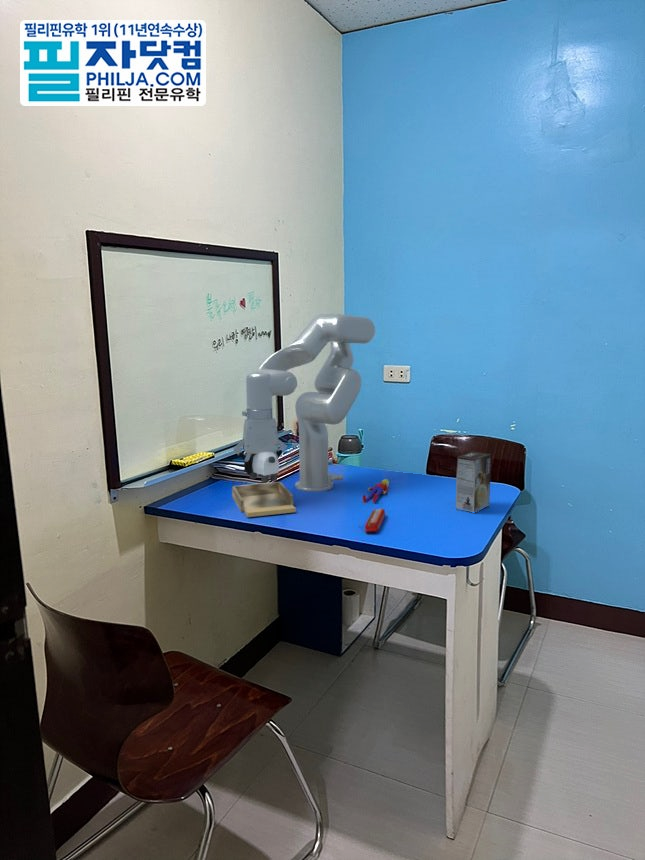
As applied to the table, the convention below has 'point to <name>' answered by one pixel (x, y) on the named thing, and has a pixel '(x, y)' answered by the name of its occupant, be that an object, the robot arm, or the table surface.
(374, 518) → the candy bar
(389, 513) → the table surface
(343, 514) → the table surface
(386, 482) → the character figure
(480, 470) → the coffee box
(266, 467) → the giant panda
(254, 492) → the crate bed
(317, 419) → the robot arm
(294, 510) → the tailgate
